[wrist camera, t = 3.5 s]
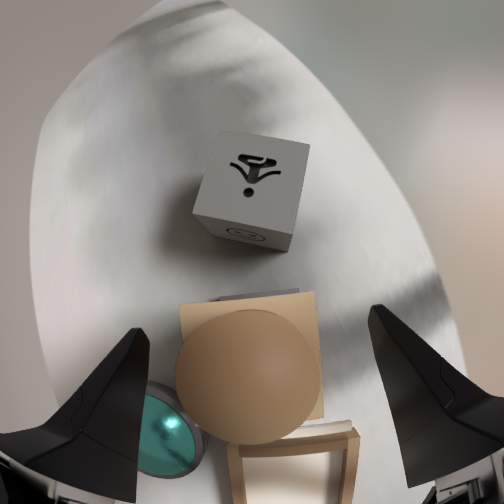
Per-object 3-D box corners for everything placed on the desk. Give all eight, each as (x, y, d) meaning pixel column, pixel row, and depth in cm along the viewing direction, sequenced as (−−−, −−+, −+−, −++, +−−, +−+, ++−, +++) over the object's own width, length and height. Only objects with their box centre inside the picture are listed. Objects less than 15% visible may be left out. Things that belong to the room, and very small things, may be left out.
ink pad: (230, 449, 15) (226, 460, 14) (152, 479, 15) (145, 488, 14) (161, 361, 17) (151, 366, 15) (93, 403, 17) (82, 408, 15)
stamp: (304, 362, 16) (350, 453, 5) (229, 369, 17) (167, 461, 5) (297, 288, 17) (340, 268, 6) (222, 296, 17) (138, 289, 6)
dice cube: (302, 182, 18) (310, 144, 14) (287, 252, 18) (292, 234, 13) (232, 169, 19) (219, 129, 14) (213, 236, 18) (192, 213, 13)
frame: (344, 510, 13) (347, 521, 12) (239, 518, 14) (237, 529, 12) (354, 418, 15) (361, 428, 14) (228, 429, 16) (224, 439, 14)
